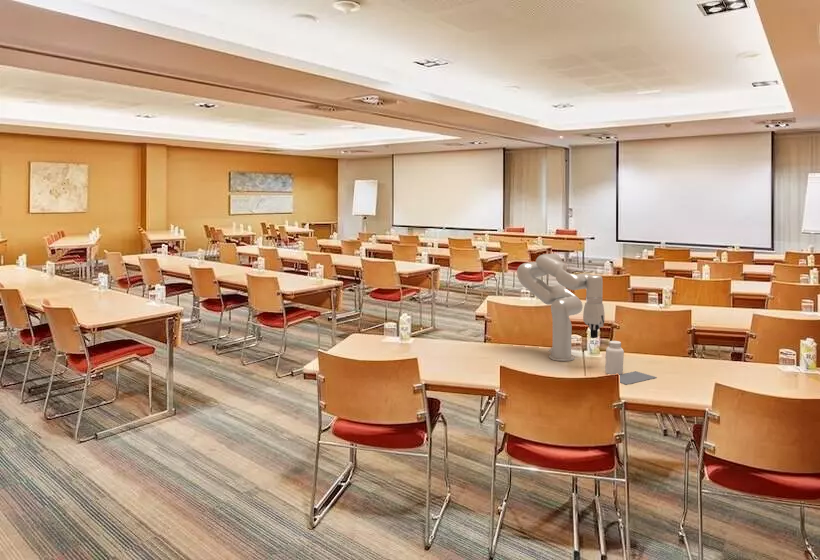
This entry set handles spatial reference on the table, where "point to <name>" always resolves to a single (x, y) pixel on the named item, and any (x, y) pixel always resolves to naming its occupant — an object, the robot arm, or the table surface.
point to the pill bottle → (614, 358)
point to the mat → (634, 377)
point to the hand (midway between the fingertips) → (594, 337)
